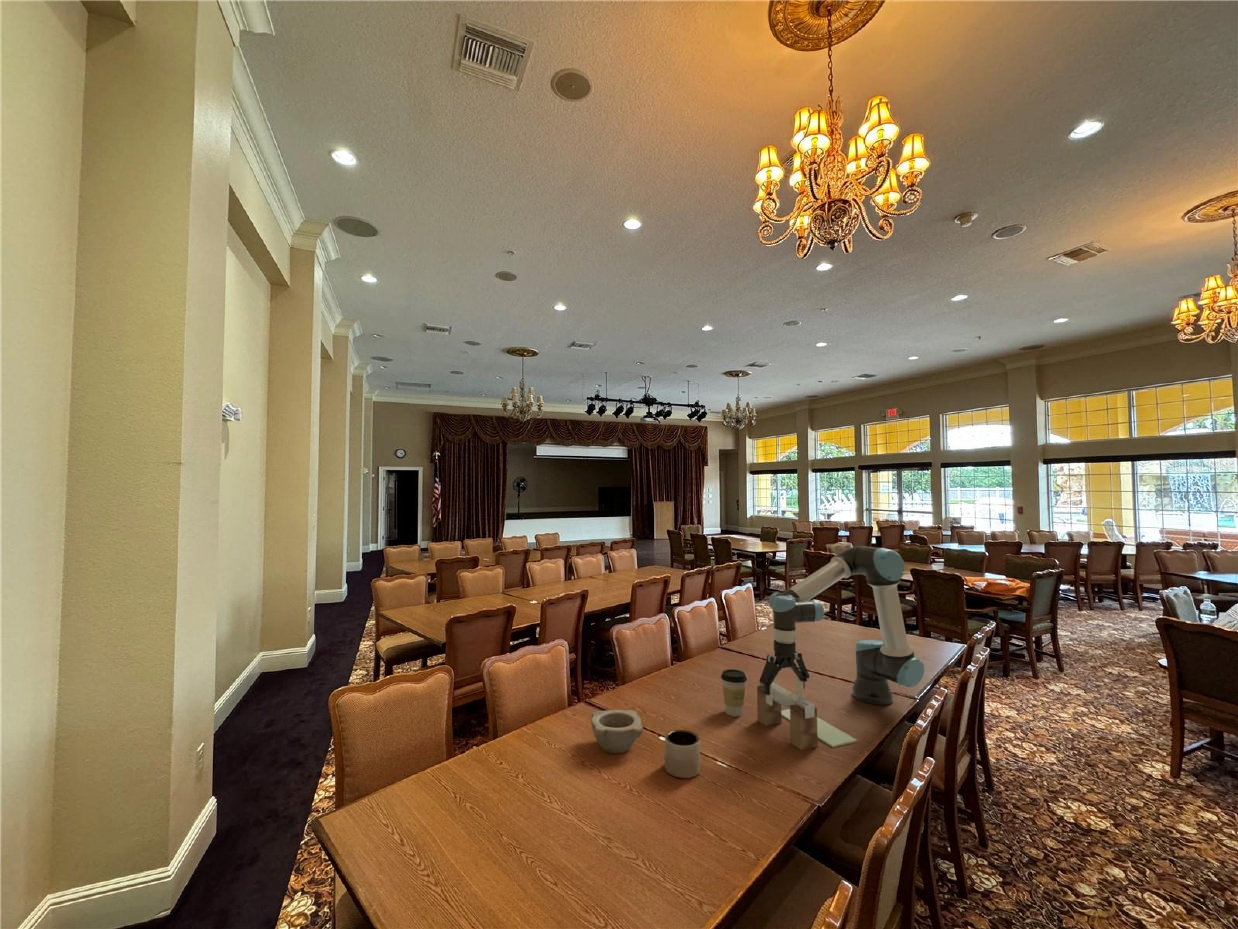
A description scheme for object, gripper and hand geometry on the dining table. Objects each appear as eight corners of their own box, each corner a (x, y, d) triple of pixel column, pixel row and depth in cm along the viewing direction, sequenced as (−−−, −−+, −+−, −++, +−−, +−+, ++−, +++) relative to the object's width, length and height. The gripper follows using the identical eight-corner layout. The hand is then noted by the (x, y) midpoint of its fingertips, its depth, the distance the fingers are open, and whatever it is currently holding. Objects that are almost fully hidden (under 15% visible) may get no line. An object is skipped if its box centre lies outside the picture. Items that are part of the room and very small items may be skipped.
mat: (799, 708, 193) (799, 707, 193) (857, 742, 167) (857, 740, 167) (777, 713, 189) (776, 711, 189) (832, 747, 163) (832, 745, 163)
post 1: (772, 717, 185) (772, 683, 186) (781, 723, 181) (781, 688, 181) (757, 720, 183) (757, 686, 184) (766, 726, 178) (765, 691, 179)
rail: (759, 691, 184) (759, 681, 185) (768, 690, 186) (768, 679, 186) (805, 718, 162) (804, 706, 162) (814, 716, 163) (814, 704, 164)
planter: (677, 783, 142) (677, 749, 143) (657, 765, 152) (657, 733, 152) (707, 774, 147) (707, 741, 148) (686, 757, 157) (686, 726, 157)
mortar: (638, 734, 172) (638, 707, 172) (644, 759, 155) (644, 729, 156) (590, 735, 170) (590, 708, 171) (591, 761, 154) (591, 731, 154)
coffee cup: (748, 719, 183) (747, 678, 184) (721, 717, 185) (721, 676, 186) (746, 708, 193) (746, 669, 194) (721, 706, 195) (720, 667, 196)
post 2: (806, 739, 168) (806, 702, 169) (817, 746, 164) (816, 708, 165) (790, 743, 166) (790, 705, 167) (801, 750, 161) (800, 711, 162)
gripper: (804, 634, 183) (805, 693, 182) (749, 640, 174) (749, 702, 173) (819, 640, 176) (820, 700, 175) (762, 646, 167) (762, 710, 166)
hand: (784, 701), depth 174 cm, fingers open, 13 cm apart
